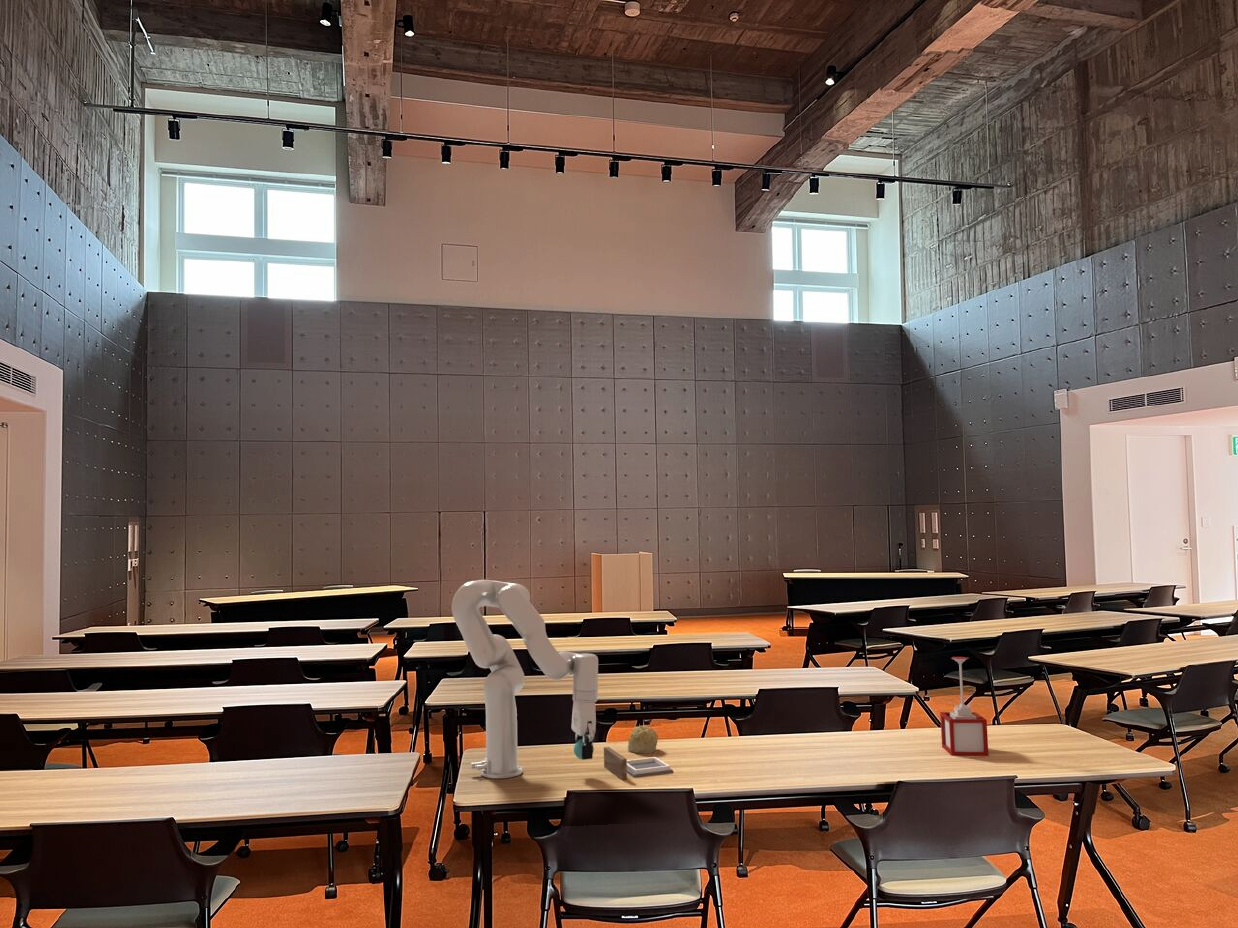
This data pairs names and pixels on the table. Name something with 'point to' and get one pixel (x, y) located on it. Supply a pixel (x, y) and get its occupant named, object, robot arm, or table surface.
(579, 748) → the ball
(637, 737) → the rock
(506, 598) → the robot arm
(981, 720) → the pendant light
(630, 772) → the grey square tray
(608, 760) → the low wall
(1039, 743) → the table surface
